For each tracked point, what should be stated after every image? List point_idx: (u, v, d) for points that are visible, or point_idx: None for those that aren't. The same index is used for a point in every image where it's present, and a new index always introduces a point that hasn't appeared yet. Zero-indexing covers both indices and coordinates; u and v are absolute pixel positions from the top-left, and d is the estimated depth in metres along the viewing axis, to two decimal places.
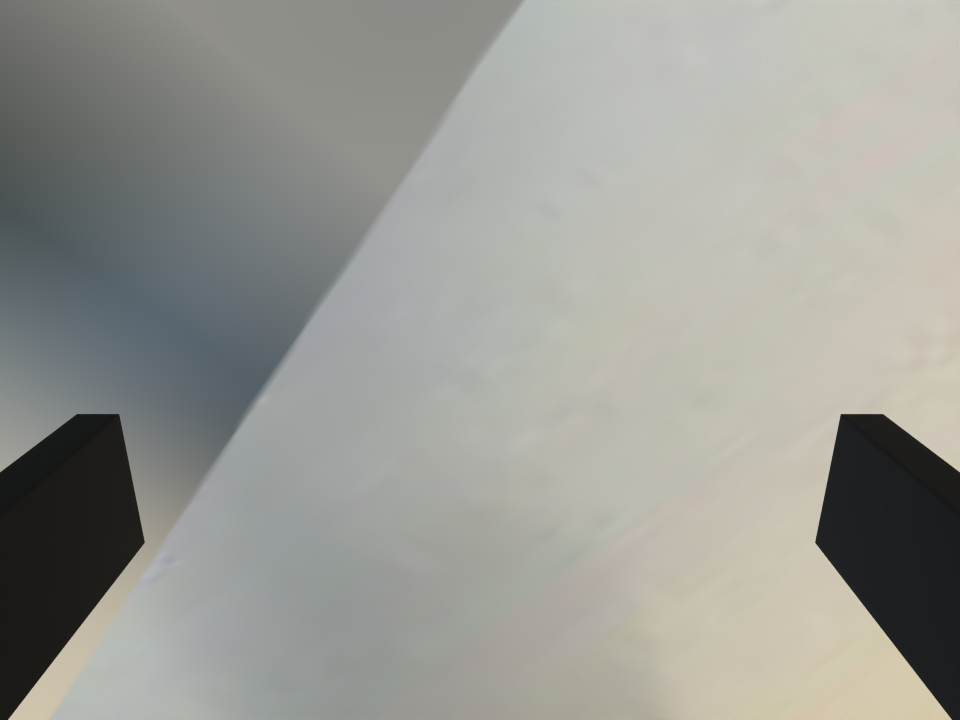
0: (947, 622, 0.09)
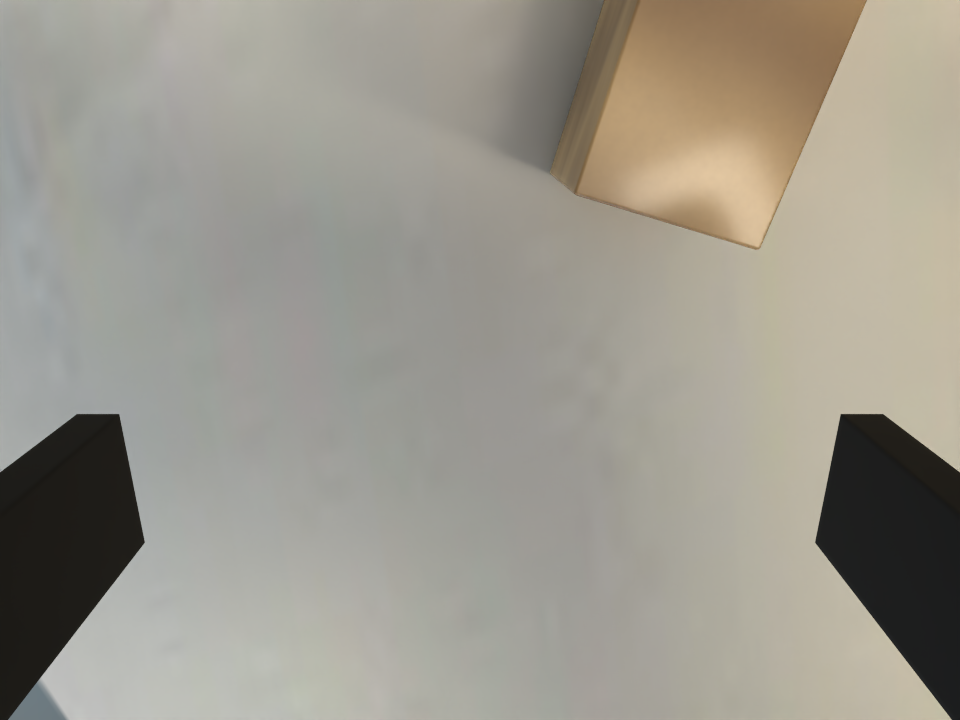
0: (947, 622, 0.09)
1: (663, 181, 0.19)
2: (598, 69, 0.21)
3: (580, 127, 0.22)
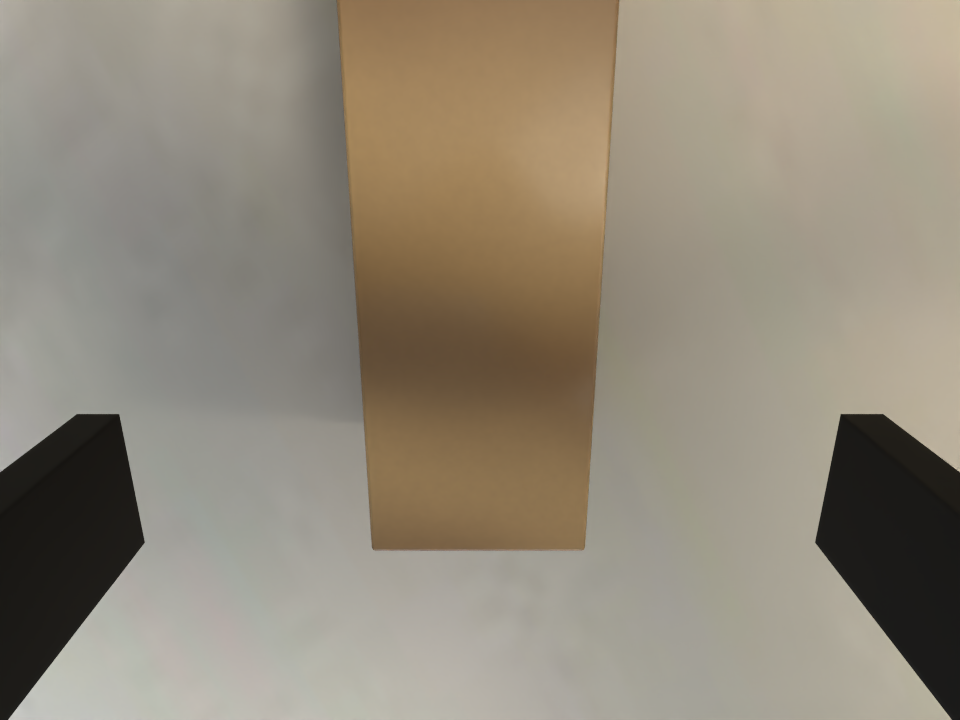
0: (947, 622, 0.09)
1: (457, 518, 0.18)
2: None
3: None
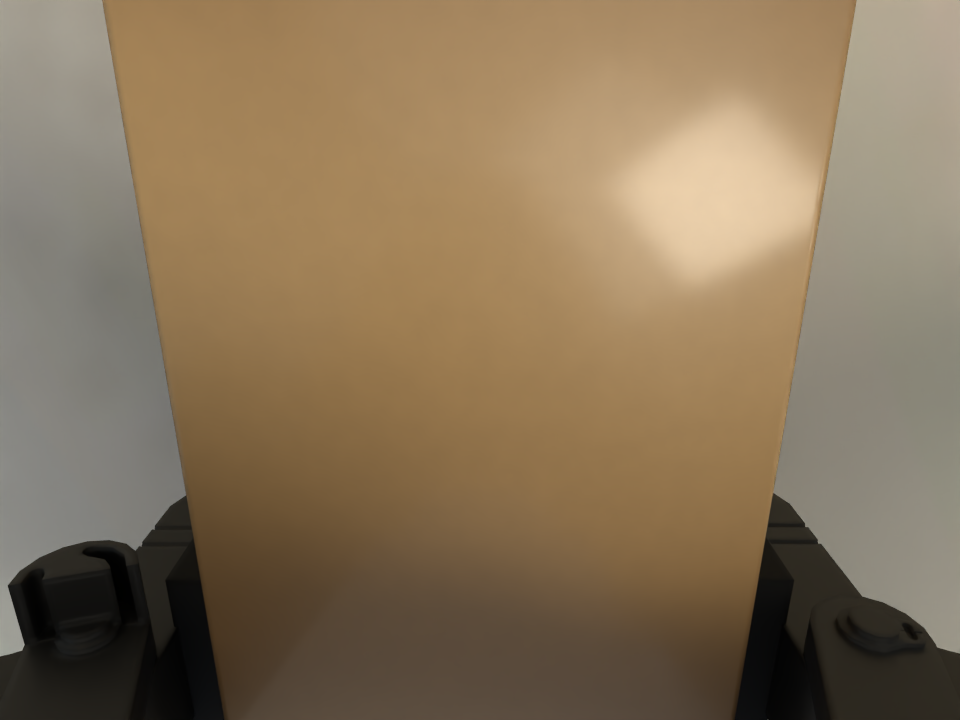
0: None
1: None
2: None
3: None
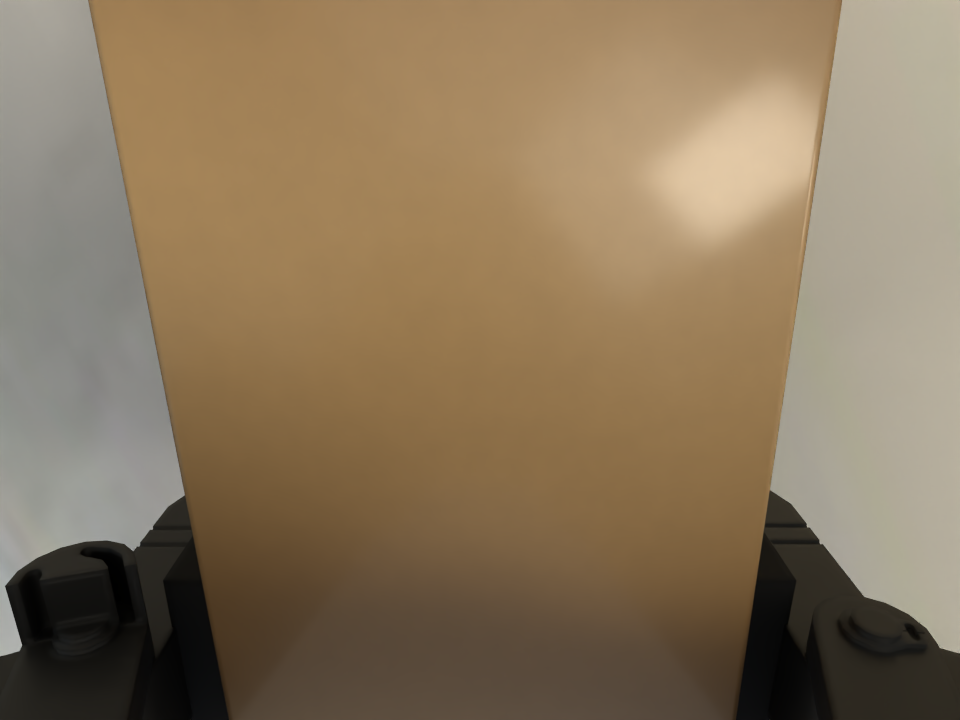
0: None
1: None
2: None
3: None
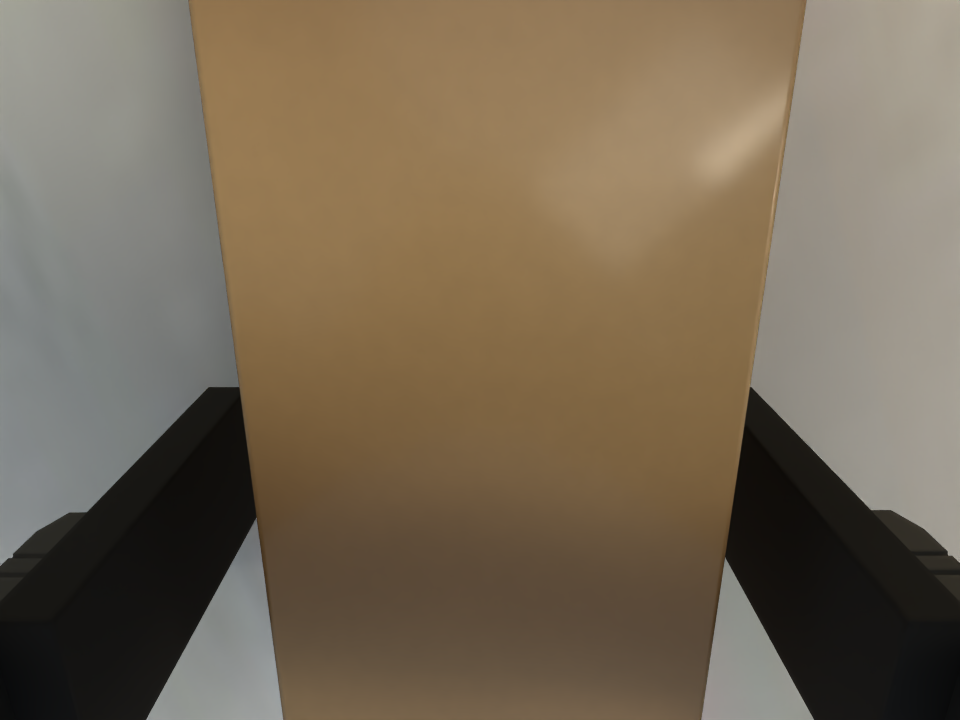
0: (773, 565, 0.11)
1: None
2: None
3: None
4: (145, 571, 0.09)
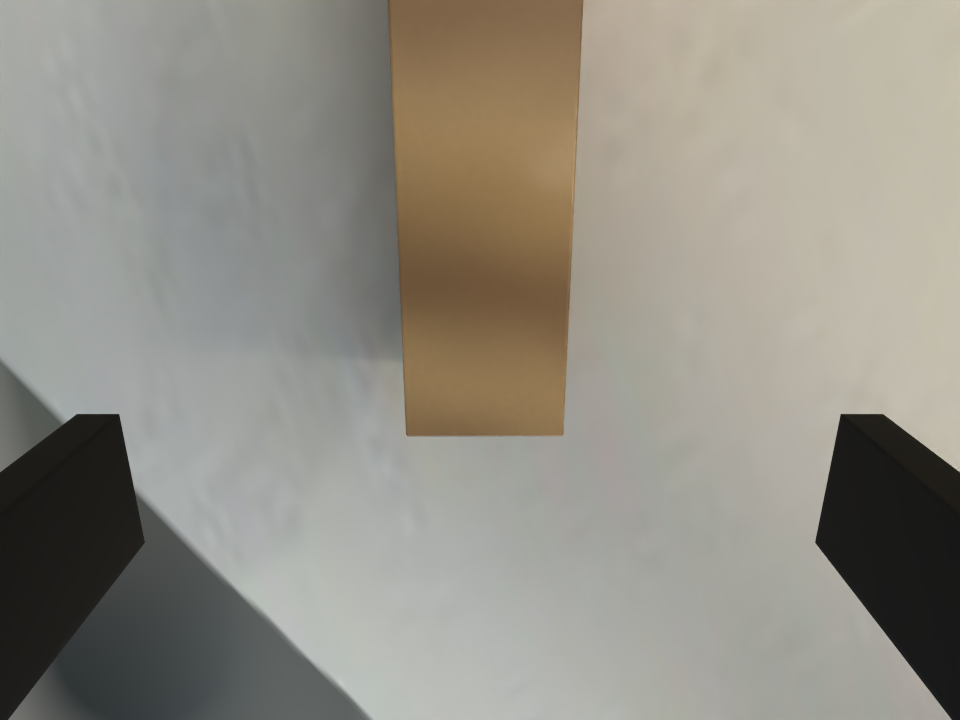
0: (947, 622, 0.09)
1: (469, 410, 0.25)
2: None
3: None
4: None
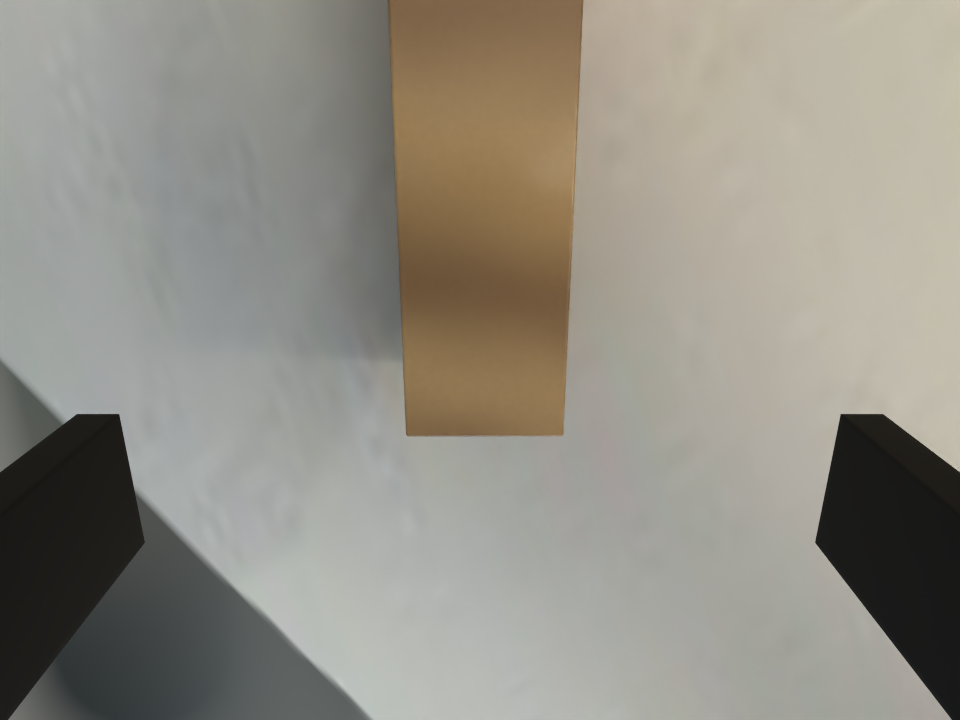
0: (947, 622, 0.09)
1: (469, 410, 0.25)
2: None
3: None
4: None
